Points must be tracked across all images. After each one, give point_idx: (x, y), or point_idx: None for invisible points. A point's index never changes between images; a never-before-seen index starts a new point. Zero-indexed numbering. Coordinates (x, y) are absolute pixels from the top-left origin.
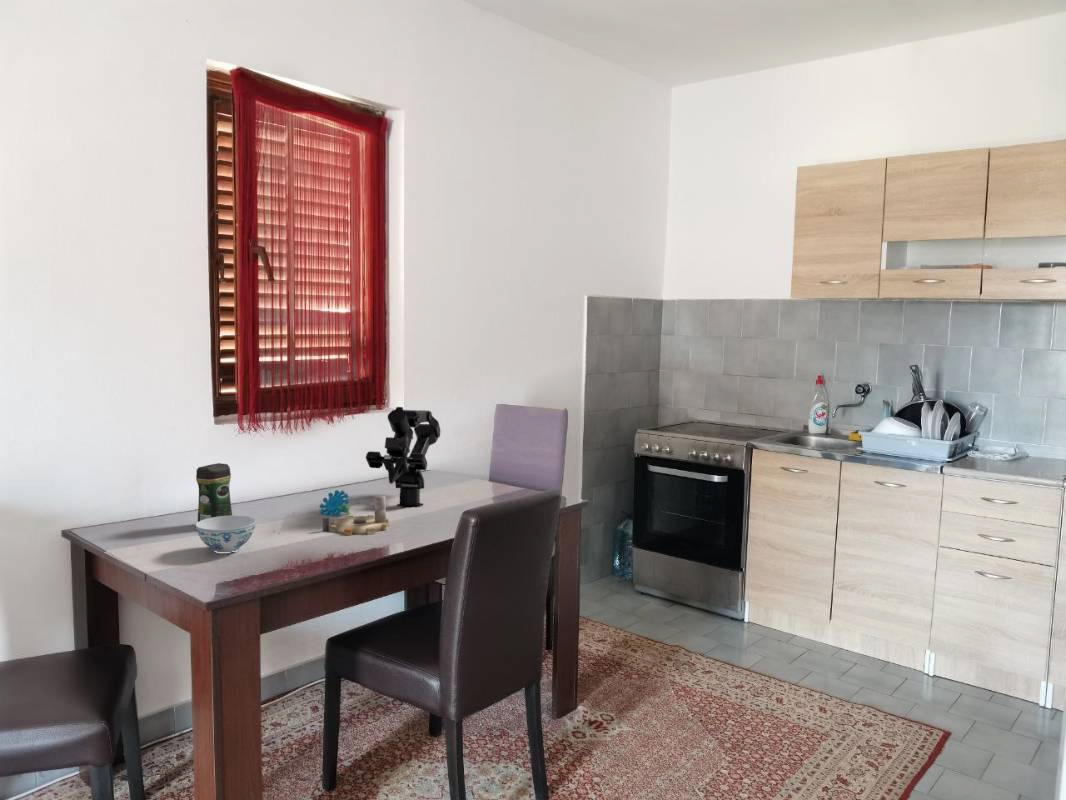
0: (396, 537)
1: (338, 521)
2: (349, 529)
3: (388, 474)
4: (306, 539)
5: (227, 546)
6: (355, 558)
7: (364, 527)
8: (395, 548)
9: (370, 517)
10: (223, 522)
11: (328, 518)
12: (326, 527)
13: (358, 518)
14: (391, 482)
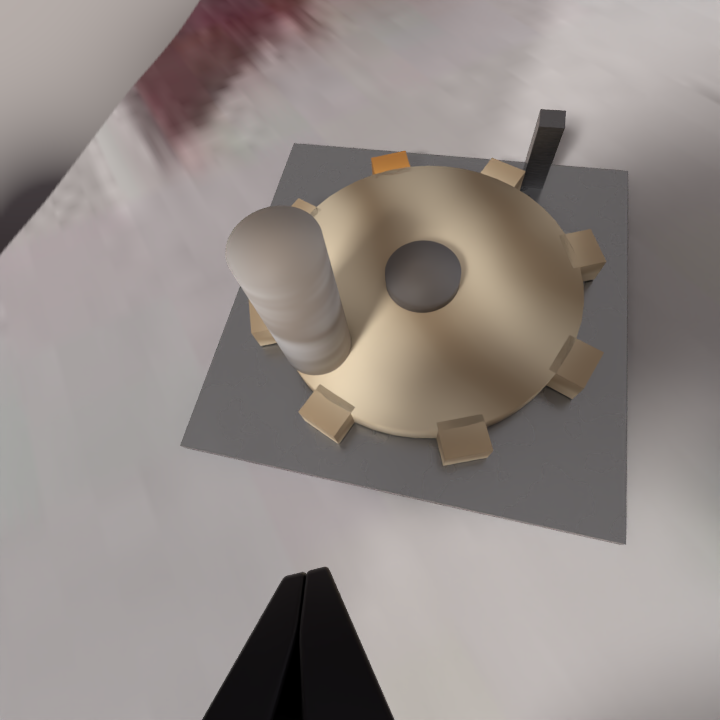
0: (174, 266)
1: (548, 243)
2: (382, 160)
3: (370, 672)
4: (526, 92)
5: None
6: (213, 33)
7: (334, 215)
8: (123, 152)
9: (436, 404)
10: None
11: (537, 128)
12: (527, 157)
13: (448, 289)
14: (292, 580)
